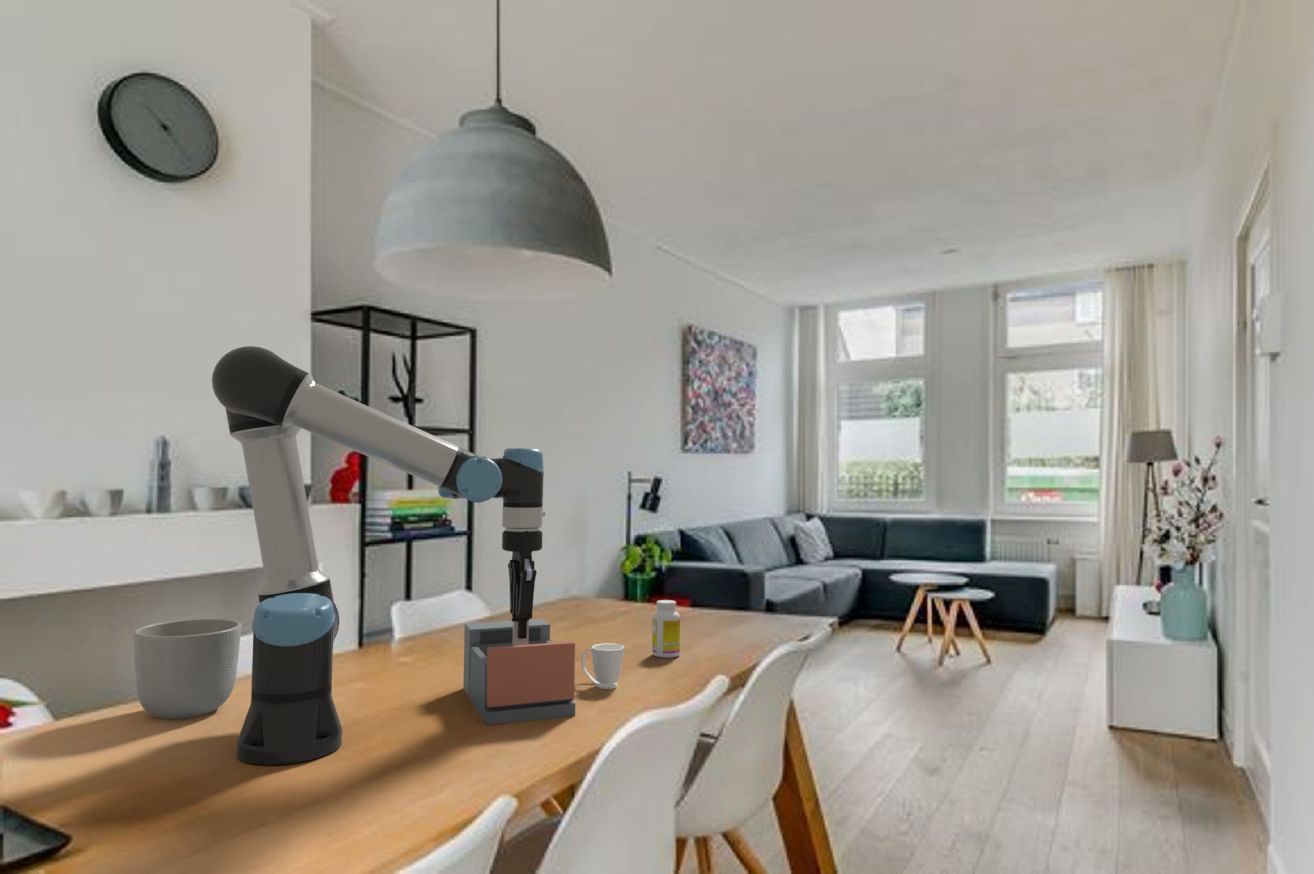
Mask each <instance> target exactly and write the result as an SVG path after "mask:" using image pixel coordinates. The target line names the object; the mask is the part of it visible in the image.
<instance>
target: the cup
mask: <svg viewBox="0 0 1314 874" xmlns="http://www.w3.org/2000/svg"><path fill="white" fill-rule="evenodd" d="M588 652H590V653H591V658H592V666H593V673H594V677H595V678H594V677H593V676H592V675H591V674H590V673H589V671H588V670H587V667H586V657H587V654H588ZM624 653H625V645H622V644H619V643H613V642H611V643H609V642H604V643H597V644H593V645H592V646H591V647H590V648H588V649H585V651H584V652H583V653H582V658H581V669H582V671H583V673H584V675H585V676H586V677H587V678H588V679H589V680H590V681H591V682H592V683H593V684H594V685H596V687H597V688H599V689H601V690H602V689H603V690H612V689H616V688H617V687H618V686H619V684H618V683H617V682H618V681H619V678H620V677H621V676H620V674H621V670H622V667H623V659H624Z"/></svg>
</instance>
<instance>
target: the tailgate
mask: <svg viewBox="0 0 1314 874" xmlns="http://www.w3.org/2000/svg"><path fill="white" fill-rule="evenodd" d="M575 662H576V643H575V642H574V641H572V640H571V641H559V642H558V641H557V642H554V643H542V644H528V645H514V646H501V647H487V689H486V707H487V709H493V708H502V707H512V706H522V705H532V704H542V703H552V702H561V701H571V700H572V701H574V699H575V671H576V670H575V667H576V665H575Z"/></svg>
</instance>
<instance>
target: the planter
mask: <svg viewBox="0 0 1314 874" xmlns="http://www.w3.org/2000/svg"><path fill="white" fill-rule="evenodd" d="M242 627H243V625H242V622H240V621H238V620H234V619H228V618H191V619H180V620H179V619H178V620H170V621H164V622H158V623H152V624H148V625H145V626H141V627H139V628H136V629H135V630H134V631H133V634H132V636H133V638H132V639H133V658H134V673H135V675H134V676H135V677H134V678H135V679H134V680H135V691H136V695H137V699H138V701H139V705H141V707H142V709H144V710H145V712H147V713H148V714H149V715H151V716H153V717H154V718H158V719H159V718H161V719H166V720H182V719H189V718H195V717H199V716H203V715H206V714H209V713H212V712H214V711H216V710H217V709H219V708H220V707H222V706H223V705H224V703H226V702H227V701H228V699H229V698H230V696H231V695H232V693H233V690H234V687H235V684H236V679H237V672H238V664H239V663H238V661H239V654H240V646H241V645H240V644H241V633H242Z"/></svg>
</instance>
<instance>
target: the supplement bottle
mask: <svg viewBox="0 0 1314 874" xmlns="http://www.w3.org/2000/svg"><path fill="white" fill-rule="evenodd" d="M676 607H677V601H675V600H671V599H670V600H669V599H661V600H657V601H656V608H657V610H656V611H654V613H652V627H651V628H652V629H651V631H652V634H651V635H652V637H651V639H652V640H651V641H652V642H651V643H652V644H651V645H652V647H651V648H652V650H651V652H652V655H653V656H654V657H656V658H663V659H664V658H665V659H670V658H671V659H672V658H676V657H678V656H680V654H681V653H680V652H681V616H680V613H679V612H678V611H676Z"/></svg>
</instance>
